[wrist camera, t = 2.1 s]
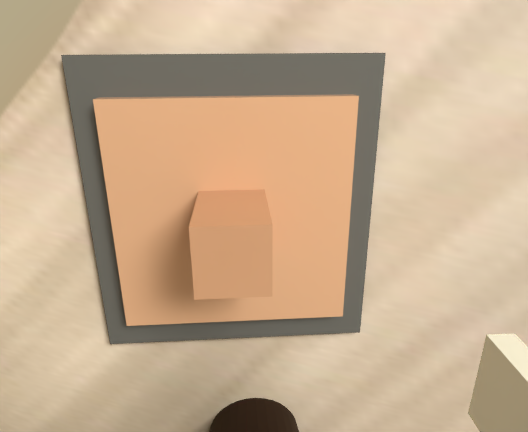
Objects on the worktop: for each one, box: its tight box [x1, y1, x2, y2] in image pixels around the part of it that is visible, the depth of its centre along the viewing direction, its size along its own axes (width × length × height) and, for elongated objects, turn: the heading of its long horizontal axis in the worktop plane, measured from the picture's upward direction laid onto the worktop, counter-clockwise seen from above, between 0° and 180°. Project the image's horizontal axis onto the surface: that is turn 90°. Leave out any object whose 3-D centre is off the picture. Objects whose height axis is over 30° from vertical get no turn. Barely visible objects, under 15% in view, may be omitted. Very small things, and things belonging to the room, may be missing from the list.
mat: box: [61, 53, 385, 344], centre depth 24 cm, size 16×17×1 cm
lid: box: [93, 94, 359, 326], centre depth 21 cm, size 13×13×6 cm
